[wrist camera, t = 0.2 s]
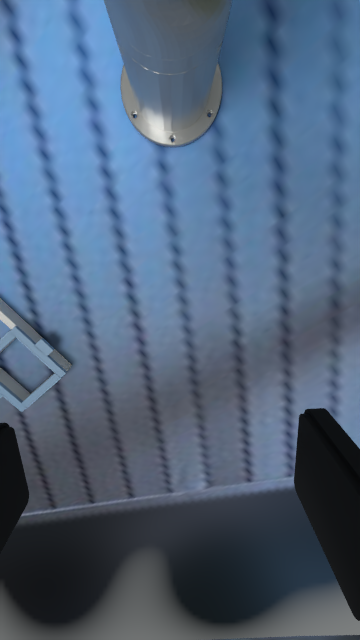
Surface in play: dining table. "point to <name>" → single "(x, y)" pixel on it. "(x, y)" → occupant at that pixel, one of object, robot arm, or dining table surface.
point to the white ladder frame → (39, 347)
